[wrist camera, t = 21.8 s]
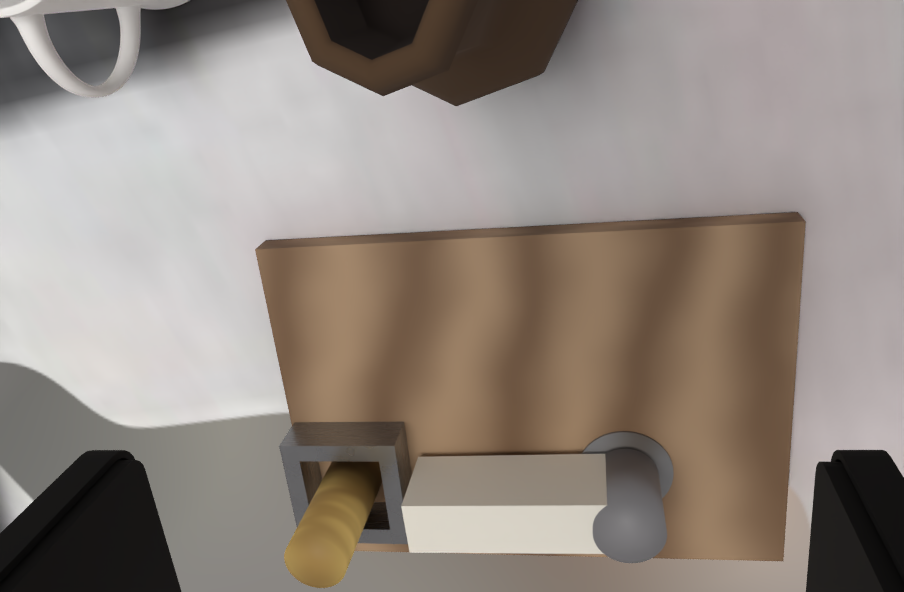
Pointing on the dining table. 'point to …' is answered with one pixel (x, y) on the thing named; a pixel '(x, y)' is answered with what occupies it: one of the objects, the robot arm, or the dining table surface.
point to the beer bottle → (433, 42)
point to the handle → (537, 505)
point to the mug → (30, 4)
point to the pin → (333, 523)
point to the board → (564, 353)
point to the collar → (351, 444)
